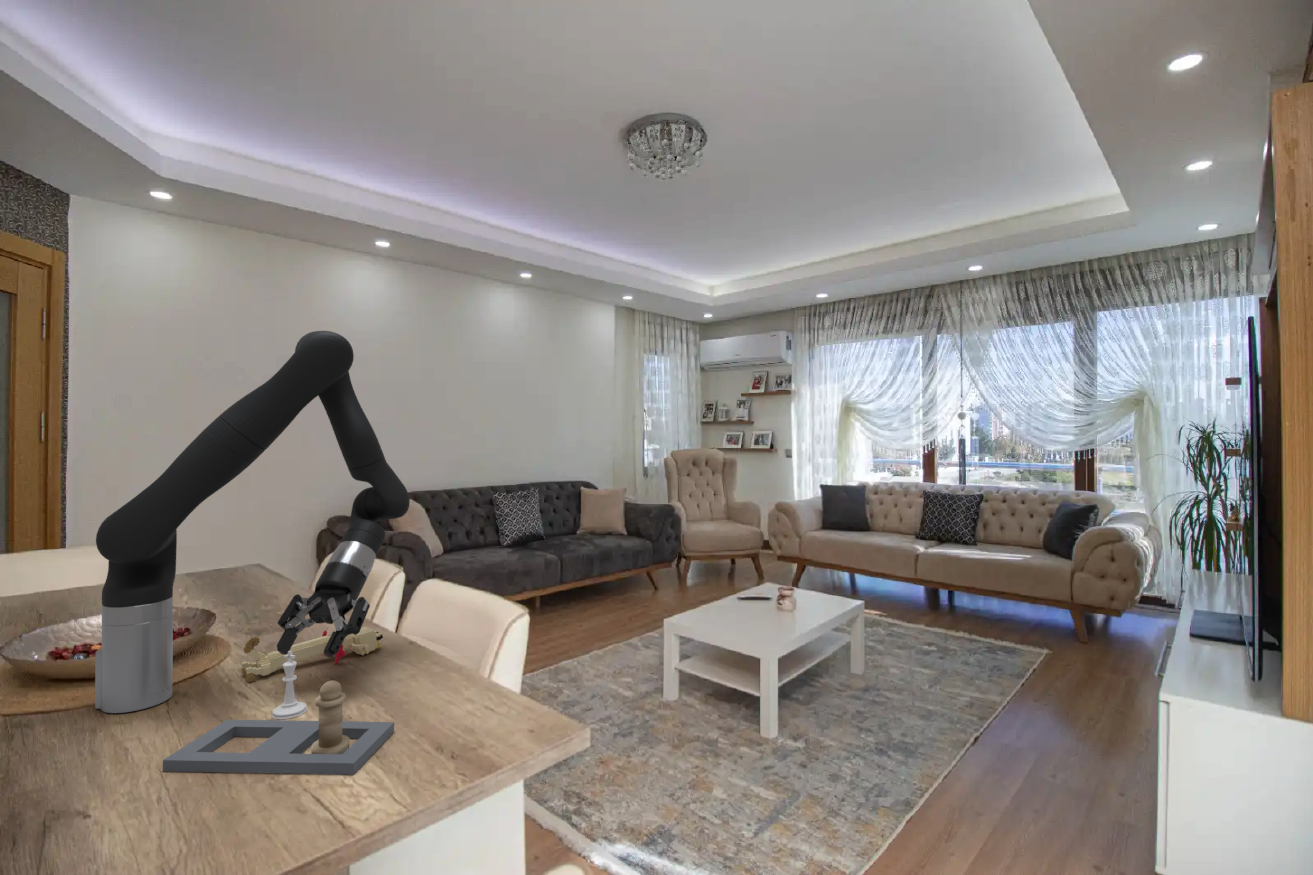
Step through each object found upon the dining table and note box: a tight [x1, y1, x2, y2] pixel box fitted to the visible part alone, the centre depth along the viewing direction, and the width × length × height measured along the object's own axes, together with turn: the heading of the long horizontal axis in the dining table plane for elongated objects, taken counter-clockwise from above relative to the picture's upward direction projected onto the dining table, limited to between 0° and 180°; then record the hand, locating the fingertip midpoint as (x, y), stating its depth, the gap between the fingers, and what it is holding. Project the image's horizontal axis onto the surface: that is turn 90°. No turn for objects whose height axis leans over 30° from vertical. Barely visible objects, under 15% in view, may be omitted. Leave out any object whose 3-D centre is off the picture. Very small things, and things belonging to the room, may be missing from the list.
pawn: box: [310, 680, 350, 754], centre depth 89 cm, size 5×5×10 cm
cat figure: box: [240, 626, 386, 684], centre depth 123 cm, size 10×9×25 cm
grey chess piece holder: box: [162, 719, 395, 776], centre depth 89 cm, size 26×12×2 cm, turn 89°
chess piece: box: [271, 651, 308, 720], centre depth 101 cm, size 5×5×10 cm
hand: (304, 653), depth 104 cm, fingers open, 8 cm apart
